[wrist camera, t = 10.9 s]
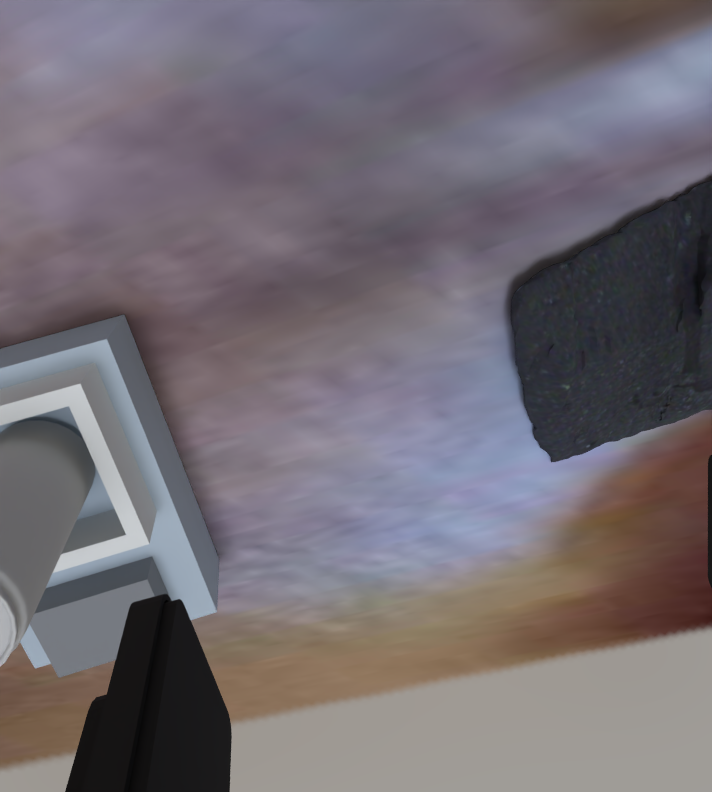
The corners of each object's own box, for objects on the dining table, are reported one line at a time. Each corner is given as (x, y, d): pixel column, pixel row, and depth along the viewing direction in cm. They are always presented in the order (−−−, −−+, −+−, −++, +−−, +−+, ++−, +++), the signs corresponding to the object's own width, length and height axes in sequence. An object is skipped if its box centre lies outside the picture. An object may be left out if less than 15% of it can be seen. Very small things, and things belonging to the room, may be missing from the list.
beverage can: (119, 469, 32) (55, 634, 21) (41, 525, 32) (-63, 717, 21) (47, 395, 30) (-65, 533, 19) (-35, 455, 30) (-192, 625, 19)
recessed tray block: (-67, 366, 34) (-153, 426, 26) (124, 314, 34) (93, 357, 27) (78, 646, 41) (42, 754, 33) (234, 597, 41) (233, 694, 34)
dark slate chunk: (477, 248, 37) (510, 260, 33) (831, 119, 38) (909, 114, 33) (534, 473, 43) (568, 510, 38) (839, 356, 44) (907, 379, 39)
